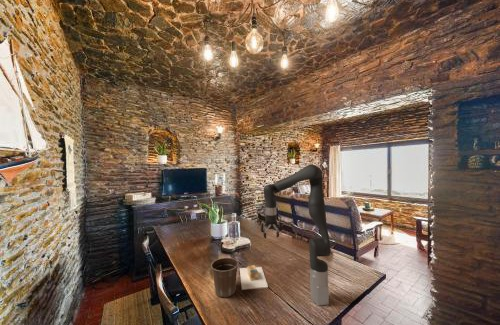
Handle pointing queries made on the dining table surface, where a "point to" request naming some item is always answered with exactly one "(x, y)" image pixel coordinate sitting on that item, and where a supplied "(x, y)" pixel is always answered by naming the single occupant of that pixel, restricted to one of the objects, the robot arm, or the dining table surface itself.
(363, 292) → the dining table surface
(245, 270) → the felt mat
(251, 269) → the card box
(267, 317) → the dining table surface
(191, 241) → the dining table surface
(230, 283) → the plant pot
